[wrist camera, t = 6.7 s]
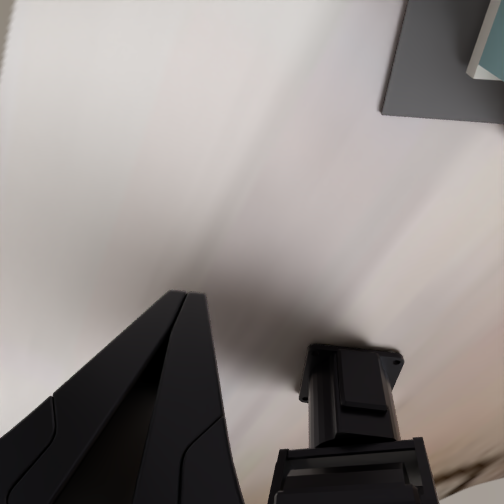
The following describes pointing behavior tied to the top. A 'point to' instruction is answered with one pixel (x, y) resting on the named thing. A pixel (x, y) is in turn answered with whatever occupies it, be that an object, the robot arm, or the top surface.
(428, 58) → the pad
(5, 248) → the top surface
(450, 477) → the top surface
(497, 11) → the sled
